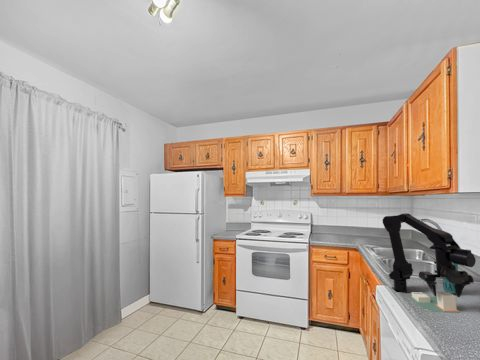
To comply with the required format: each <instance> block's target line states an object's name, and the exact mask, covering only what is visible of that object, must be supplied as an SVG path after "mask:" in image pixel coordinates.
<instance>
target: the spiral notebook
mask: <svg viewBox="0 0 480 360" xmlns="http://www.w3.org/2000/svg"><path fill="white" fill-rule="evenodd" d="M411 296H412V297H413V298H414V299H415V300H417V301H418V302H426V303H431V301H430V297H428V295H427V294H426V293H424V292H420V291H419V292H416V291H415V292H414V291H412V292H411Z"/></svg>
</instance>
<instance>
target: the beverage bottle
mask: <svg viewBox="0 0 480 360" xmlns="http://www.w3.org/2000/svg"><path fill="white" fill-rule="evenodd" d="M452 264H453V265H455V269H456V271H459V264H455V263H453V262H452ZM442 287H443V291H444V292H449V293H451V294H456V290H455V284H452V283H450V282H449V281H448V280H447V279H442Z"/></svg>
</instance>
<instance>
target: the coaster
mask: <svg viewBox="0 0 480 360" xmlns="http://www.w3.org/2000/svg"><path fill="white" fill-rule="evenodd" d="M435 305H436V306H437V307H438V308H440V309H441V310H443V309H442V308H441V307H439V306H438V304H435ZM443 311H444V312H443V313H447V312H460V310H458V309H457V310H443ZM460 313H461V312H460Z"/></svg>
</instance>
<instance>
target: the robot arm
mask: <svg viewBox="0 0 480 360" xmlns="http://www.w3.org/2000/svg"><path fill="white" fill-rule="evenodd" d="M403 223H405V224H407V225H408V226H409V227H412V228H413V229H415V230H416V231H417V232H420V233H421V234H423V235H424V236H425V237H426V238H427V239H428V241H430V242H431V243H432V245H431V246H429V249H430V250H434V255H435V257H434V258H435V260H434V261H433V264H434V265H435V270H434V273H431V272H430V271H424V270H423V271H422V270H421V271H419V272H418V277H419V279H422V280H423V281H424V282H426V284H427V286H428V288H429V289H430V291H431V293H432V294H433V295H432V296H433V297H437V288H436V286H437V284H438V283H437V280H443V279H447V280H448V281H449V282H450V283H452V284H455V290H456V293H455V294H456V295H455V296H456V297H458V298H460V297H461V295H462V293H463V291H464V288H465V286H468V285H471V284H473V283H474V282H475V281H474V277H473V276H472V275H471V274H469V273H468V272H467V271H466V270H458V271H456V269H455V265H453V264H452V262H453V263H455V264H458V266H459V265H460V266H464V267H468V268H473V267H475V266H476V257H475V255H474V254H473V253H472V250H471V249H464V248H461V246H460V245H459V244H458V243H457V241H455V240H456V239H454V238H453V235H452V234H451V233H449V232H447V231H445V230H442V229H438V228H436V227H435V228H434V227H432V226H430V225H429V224H427V223H425V222H423V221H421V220H420V219H418V218H416V217H414V216H413V215H412V214H410V213H409V212H408V213H400V214H397V215H396V214H395V215H386V216H383V218H382V224H383V227H384V229H385V230H386V232H388V236H389V239H390V244H391V245H390V246H391V249H392V253H393V258H394V261H393V263H392V271H391V272H390V273H388V277H389V279H390V280H393V286H391V289H392V290H393V291H394V292H396V293H397V292H405V294H410V293H411V291H409V290H408V287H407V286H408V285H407V280H411V276H413V273H414V269H413V264H412V263H411V262H408V260H407V259H406V256H405V251H404V246H403V243H402V237H401V228H402V224H403Z"/></svg>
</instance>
